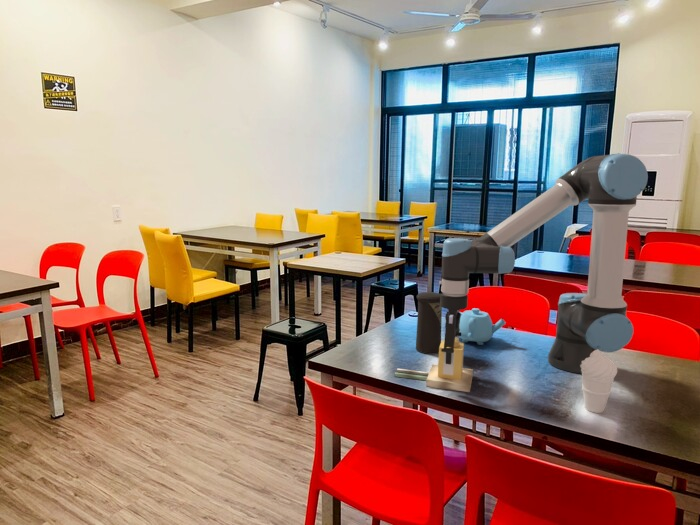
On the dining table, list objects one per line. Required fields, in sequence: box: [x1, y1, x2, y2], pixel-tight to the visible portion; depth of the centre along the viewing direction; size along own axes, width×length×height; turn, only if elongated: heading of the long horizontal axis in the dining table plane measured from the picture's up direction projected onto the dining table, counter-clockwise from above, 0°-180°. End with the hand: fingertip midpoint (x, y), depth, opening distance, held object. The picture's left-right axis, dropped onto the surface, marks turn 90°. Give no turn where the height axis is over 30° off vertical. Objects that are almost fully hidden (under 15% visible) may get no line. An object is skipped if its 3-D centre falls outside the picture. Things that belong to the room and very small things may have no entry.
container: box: [415, 291, 443, 355], centre depth 164 cm, size 9×9×20 cm
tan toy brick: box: [437, 339, 465, 380], centre depth 139 cm, size 6×6×10 cm
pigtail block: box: [393, 364, 474, 393], centre depth 141 cm, size 22×12×8 cm, turn 72°
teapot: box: [457, 307, 507, 346], centre depth 175 cm, size 20×17×12 cm
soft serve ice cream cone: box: [580, 349, 618, 414], centre depth 122 cm, size 8×8×16 cm
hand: (450, 365), depth 140 cm, fingers open, 13 cm apart
